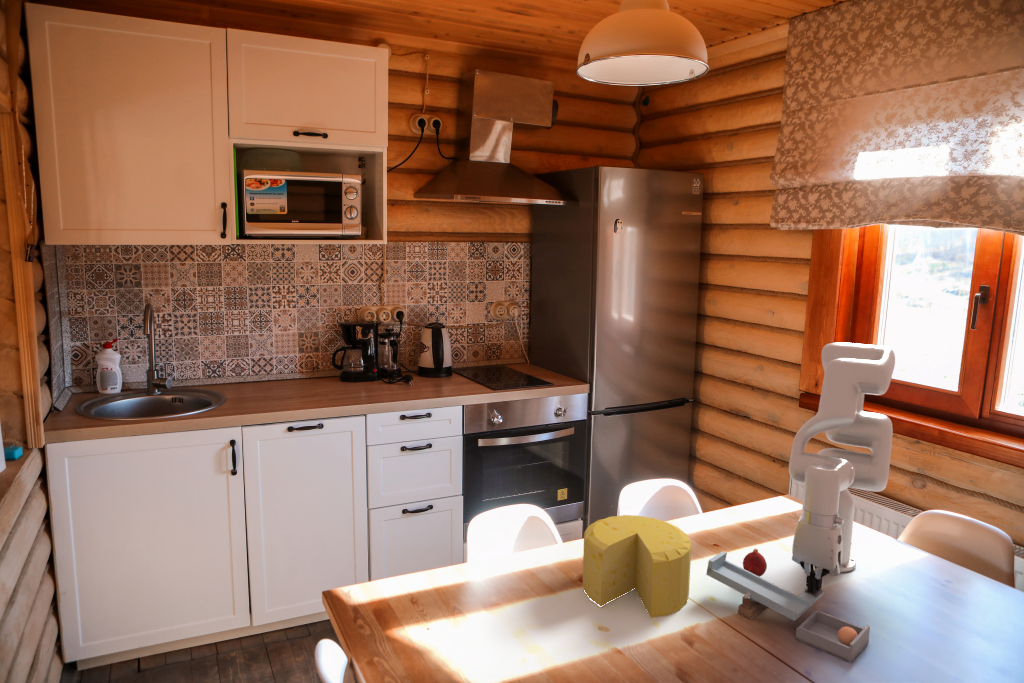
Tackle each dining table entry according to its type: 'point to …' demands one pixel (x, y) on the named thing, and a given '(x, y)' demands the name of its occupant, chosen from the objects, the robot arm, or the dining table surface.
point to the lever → (760, 588)
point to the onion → (755, 563)
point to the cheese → (637, 562)
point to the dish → (831, 635)
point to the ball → (846, 635)
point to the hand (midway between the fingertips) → (813, 591)
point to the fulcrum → (750, 608)
